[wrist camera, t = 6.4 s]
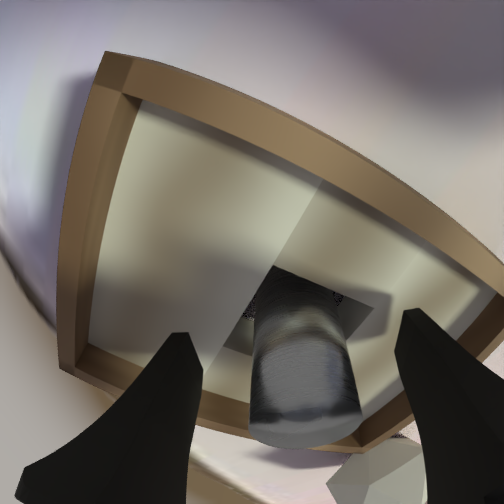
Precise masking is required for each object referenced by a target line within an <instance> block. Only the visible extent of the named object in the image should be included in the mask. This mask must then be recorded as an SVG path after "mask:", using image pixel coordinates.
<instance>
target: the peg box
mask: <svg viewBox="0 0 504 504" xmlns="http://www.w3.org/2000/svg"><path fill="white" fill-rule="evenodd" d="M272 265H274V266H277V267H279V268H281V269H284V270H286V271H288V272H291V273H293V274H295V275H298V276H300V277H302V278H305V279H307V280H309V281H312V282H314V283H317V284H319V285H321V286H324V287H326V288H328V289H331V290H333V291H335V292H338V293H340V294H342V295H345V298H344V299H343V300H342V301H341V303H340V304H339V305H338V306H337V310H338V313H339V317H340V321H341V325H342V328H343V332H344V336H345V340H346V344H347V348H348V352H349V356H350V360H351V365H352V369H353V373H354V377H355V382H356V386H357V391H358V395H359V400H360V405H361V409H362V414H363V419H362V422H361V424H360V426H359V427H358V428H357V429H356V430H355V431H354V432H352V433H351V434H350V435H348V436H347V437H345V438H343V439H341V440H338V441H336V442H333V443H330V444H327V445H323V446H319V447H314V448H306V449H312V450H321V451H330V452H341V453H355V454H364V453H365V452H367V451H369V450H370V449H372V448H374V447H375V446H377V445H379V444H380V443H382V442H383V441H385V440H386V439H388V438H390V437H391V436H393V435H394V434H396V433H397V432H399V431H400V430H401V429H403V428H404V427H406V426H407V425H409V424H410V423H411V422H413V421H414V420H415V418H414V415H413V412H412V409H411V406H410V404H409V401H408V398H407V395H406V392H405V389H404V387H403V384H402V381H401V378H400V375H399V371H398V367H397V363H396V358H395V354H394V349H395V345H396V341H397V337H398V333H399V328H400V324H401V319H402V315H403V310H408V309H414V308H420V309H421V310H423V311H424V312H425V313H426V314H427V315H428V316H429V317H430V318H431V319H433V320H434V321H435V322H436V323H437V324H438V325H439V326H440V327H441V328H442V329H443V330H444V331H446V332H447V333H448V334H449V335H450V336H451V337H452V338H453V339H454V340H455V341H456V342H458V343H459V344H460V345H461V346H462V347H463V348H464V349H465V350H467V351H468V352H469V353H470V354H471V355H472V356H474V357H475V358H476V359H477V360H479V361H480V362H481V363H482V362H483V361H484V360H485V359H486V358H487V357H488V356H489V355H490V354H491V353H492V352H493V351H494V350H495V349H496V348H497V347H498V346H499V345H500V344H501V342H502V341H503V340H504V264H503V263H502V262H501V261H500V260H499V259H498V258H497V257H496V256H495V255H494V254H493V253H492V252H491V251H490V250H489V249H488V248H487V247H486V246H484V245H483V244H482V243H481V242H480V241H479V240H478V239H477V238H475V237H474V236H473V235H472V234H471V233H470V232H468V231H467V230H466V229H465V228H464V227H462V226H461V225H460V224H459V223H458V222H456V221H455V220H454V219H453V218H451V217H450V216H449V215H448V214H446V213H445V212H444V211H442V210H441V209H440V208H439V207H437V206H436V205H435V204H433V203H432V202H431V201H429V200H428V199H427V198H425V197H424V196H423V195H421V194H420V193H418V192H417V191H416V190H414V189H413V188H412V187H410V186H409V185H407V184H406V183H404V182H403V181H401V180H400V179H399V178H397V177H396V176H394V175H393V174H391V173H390V172H388V171H387V170H385V169H384V168H382V167H380V166H379V165H377V164H376V163H374V162H373V161H371V160H370V159H368V158H366V157H365V156H363V155H361V154H360V153H358V152H357V151H355V150H353V149H352V148H350V147H348V146H346V145H345V144H343V143H341V142H340V141H338V140H336V139H334V138H333V137H331V136H329V135H327V134H325V133H324V132H322V131H320V130H318V129H316V128H314V127H313V126H311V125H309V124H307V123H305V122H303V121H301V120H299V119H297V118H295V117H293V116H291V115H289V114H287V113H285V112H283V111H281V110H279V109H277V108H275V107H273V106H271V105H269V104H266V103H264V102H262V101H260V100H258V99H255V98H253V97H251V96H249V95H246V94H244V93H242V92H239V91H237V90H235V89H232V88H230V87H227V86H225V85H222V84H220V83H217V82H215V81H212V80H210V79H207V78H204V77H202V76H199V75H196V74H193V73H191V72H188V71H185V70H182V69H179V68H176V67H173V66H170V65H167V64H164V63H161V62H158V61H154V60H149V59H145V58H140V57H136V56H131V55H126V54H120V53H115V52H109V51H105V52H104V55H103V57H102V60H101V63H100V65H99V68H98V71H97V73H96V76H95V79H94V82H93V85H92V88H91V91H90V94H89V97H88V100H87V103H86V106H85V110H84V113H83V117H82V120H81V124H80V128H79V131H78V135H77V139H76V143H75V148H74V152H73V157H72V161H71V166H70V171H69V176H68V182H67V187H66V193H65V199H64V206H63V213H62V221H61V230H60V240H59V251H58V266H57V293H56V317H57V344H58V357H59V358H58V359H59V368H60V369H62V370H63V371H65V372H67V373H69V374H71V375H73V376H75V377H77V378H79V379H81V380H83V381H85V382H87V383H89V384H91V385H93V386H95V387H97V388H100V389H102V390H104V391H106V392H108V393H111V394H113V395H115V396H118V397H120V396H121V395H122V394H123V393H124V392H125V391H126V389H127V388H128V387H129V386H130V385H131V384H132V383H133V381H134V380H135V379H136V378H137V377H138V375H139V374H140V373H141V372H142V370H143V369H144V368H145V367H146V365H147V364H148V363H149V361H150V360H151V359H152V358H153V356H154V355H155V354H156V352H157V351H158V350H159V348H160V347H161V346H162V344H163V343H164V342H165V341H166V339H167V338H168V337H169V336H170V334H171V333H172V332H189V335H190V337H191V340H192V342H193V345H194V347H195V350H196V353H197V355H198V358H199V360H200V363H201V365H202V367H203V370H204V371H203V384H202V395H201V400H200V405H199V410H198V415H197V419H196V424H195V425H198V426H201V427H205V428H209V429H212V430H216V431H220V432H223V433H227V434H231V435H236V436H240V437H244V438H249V439H253V440H256V439H255V438H253V437H252V436H251V434H250V433H249V429H248V424H249V407H250V389H251V371H252V353H253V334H254V321H251V320H248V319H246V318H243V317H241V316H242V314H243V312H244V311H245V309H246V308H247V306H248V304H249V303H250V301H251V299H252V298H253V296H254V295H255V293H256V291H257V290H258V288H259V286H260V285H261V283H262V281H263V280H264V278H265V276H266V275H267V273H268V272H269V270H270V268H271V267H272Z"/></svg>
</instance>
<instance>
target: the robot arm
mask: <svg viewBox="0 0 504 504" xmlns="http://www.w3.org/2000/svg"><path fill="white" fill-rule="evenodd" d="M394 354H395V358H396V363H397V367H398V371H399V375H400V378H401V381H402V384H403V387H404V389H405V392H406V395H407V398H408V401H409V404H410V406H411V409H412V412H413V415H414V418H415V421H416V424H417V427H418V431H419V435H420V439H421V445H422V450H423V456H424V464H425V472H426V483H427V504H504V379H502V378H501V377H500V376H498V375H497V374H495V373H494V372H492V371H491V370H490V369H488V368H487V367H486V366H485V365H483V364H482V363H481V362H480V361H479V360H477V359H476V358H475V357H474V356H472V355H471V354H470V353H469V352H468V351H467V350H465V349H464V348H463V347H462V346H461V345H460V344H459V343H458V342H456V341H455V340H454V339H453V338H452V337H451V336H450V335H449V334H448V333H447V332H446V331H444V330H443V329H442V328H441V327H440V326H439V325H438V324H437V323H436V322H435V321H434V320H433V319H431V318H430V317H429V316H428V315H427V314H426V313H425V312H424V311H423V310H421V309H420V308H414V309H408V310H403V315H402V319H401V324H400V328H399V333H398V337H397V341H396V345H395V349H394ZM203 371H204V370H203V367H202V365H201V363H200V360H199V358H198V355H197V353H196V350H195V347H194V345H193V342H192V340H191V337H190V335H189V332H172V333H171V334H170V336H169V337H168V338H167V339H166V341H165V342H164V343H163V344H162V346H161V347H160V348H159V350H158V351H157V352H156V354H155V355H154V356H153V358H152V359H151V360H150V361H149V363H148V364H147V365H146V367H145V368H144V369H143V370H142V372H141V373H140V374H139V375H138V377H137V378H136V379H135V380H134V381H133V383H132V384H131V385H130V386H129V387H128V388H127V389H126V391H125V392H124V393H123V394H122V395H121V396H120V397H119V399H118V400H117V401H116V402H115V403H114V404H113V405H112V406H111V407H110V408H109V409H108V410H107V411H106V412H105V413H104V414H103V415H102V416H101V417H100V418H99V419H97V420H96V421H95V422H94V423H93V424H92V425H90V426H89V427H88V428H87V429H85V430H84V431H83V432H82V433H80V434H79V435H78V436H77V437H76V438H74V439H73V440H71V441H70V442H68V443H67V444H66V445H64V446H63V447H61V448H59V449H58V450H56V451H55V452H54V453H51V454H50V455H48V456H46V457H45V458H43V459H40V460H39V461H37V462H35V463H33V464H31V465H29V466H26V467H25V468H24V470H23V473H22V476H21V478H20V481H19V484H18V487H17V490H16V493H15V497H16V499H17V500H19V501H20V502H22V503H24V504H186V485H187V472H188V460H189V453H190V447H191V442H192V438H193V433H194V428H195V424H196V419H197V415H198V410H199V405H200V400H201V395H202V384H203Z"/></svg>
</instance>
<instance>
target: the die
mask: <svg viewBox="0 0 504 504" xmlns="http://www.w3.org/2000/svg"><path fill="white" fill-rule="evenodd" d="M326 485H327V487H328V488H329V490H330V492H331V494H332V495H333V497H334V499H335V501H336V502H337V504H425V502H426V501H427V483H426V472H425V464H424V456H423V450H422V445H420V444H418V443H416V442H415V441H413V440H411V439H409V438H392V437H390V438H388V439H386V440H385V441H383V442H382V443H380V444H379V445H377V446H375V447H374V448H372V449H370V450H369V451H367V452H365V453H364V454H355V453H353V454H352V455H351V456H350V458H349V459H348V460H347V461H346V462H345V463H344V464H343V465H342V467H341V468H340V469H339V470H338V471H337V472H336V473H335V474H334V475H333V476H332V477H331V478H330V479H329V480H328V481H327V483H326Z"/></svg>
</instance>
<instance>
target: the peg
mask: <svg viewBox="0 0 504 504" xmlns="http://www.w3.org/2000/svg"><path fill="white" fill-rule="evenodd" d="M362 419H363V414H362V409H361V405H360V400H359V395H358V391H357V386H356V382H355V377H354V373H353V369H352V365H351V360H350V356H349V352H348V348H347V344H346V340H345V336H344V332H343V328H342V325H341V321H340V317H339V313H338V310H337V306H336V302H335V299H334V295H333V292H332V290H331V289H328V288H326V287H324V286H321V285H319V284H317V283H314V282H312V281H309V280H307V279H305V278H302V277H300V276H298V275H295V274H293V273H291V272H288V271H286V270H284V269H281V268H279V267H277V266H274V265H273V266H272V267H271V268H270V270H269V272H268V273H267V275H266V276H265V278H264V280H263V281H262V283H261V285H260V286H259V288H258V290H257V291H256V296H255V315H254V334H253V353H252V371H251V389H250V407H249V424H248V429H249V433H250V434H251V436H252V437H253V438H255V439H256V440H257V441H259V442H261V443H263V444H266V445H269V446H273V447H278V448H285V449H306V448H314V447H319V446H323V445H327V444H330V443H333V442H336V441H338V440H341V439H343V438H345V437H347V436H348V435H350V434H351V433H352V432H354V431H355V430H356V429H357V428H358V427H359V426H360V424H361V422H362Z"/></svg>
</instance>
